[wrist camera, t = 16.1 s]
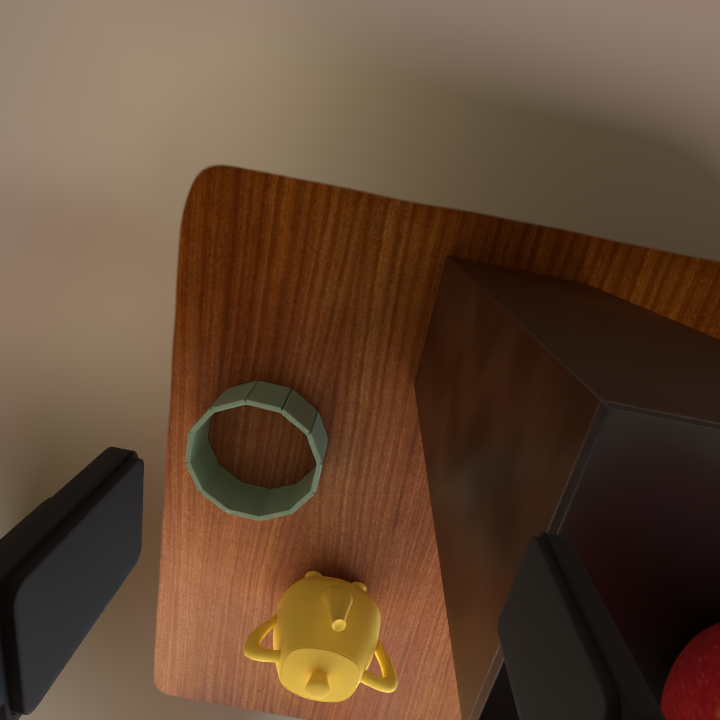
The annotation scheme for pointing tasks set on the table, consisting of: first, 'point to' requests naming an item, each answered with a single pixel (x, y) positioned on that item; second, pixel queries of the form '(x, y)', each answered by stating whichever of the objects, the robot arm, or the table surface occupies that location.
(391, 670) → the yellow two-handled pot
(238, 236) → the table surface
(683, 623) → the stand
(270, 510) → the faceted green band
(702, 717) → the apple
